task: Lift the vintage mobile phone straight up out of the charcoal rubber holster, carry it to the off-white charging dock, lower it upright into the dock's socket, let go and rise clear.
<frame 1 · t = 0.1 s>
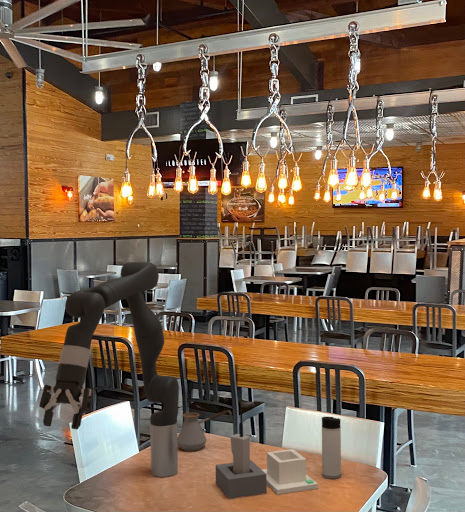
hand: (60, 427, 159), 31 cm above the table, tool tilted 20°, fingers open, 8 cm apart
vintage mobile phone: (240, 488, 198), resting in holster
holster: (240, 488, 198), on the table
travel mug: (331, 476, 207), on the table
charging dock: (286, 481, 203), on the table
coffee pot: (204, 448, 237), on the table
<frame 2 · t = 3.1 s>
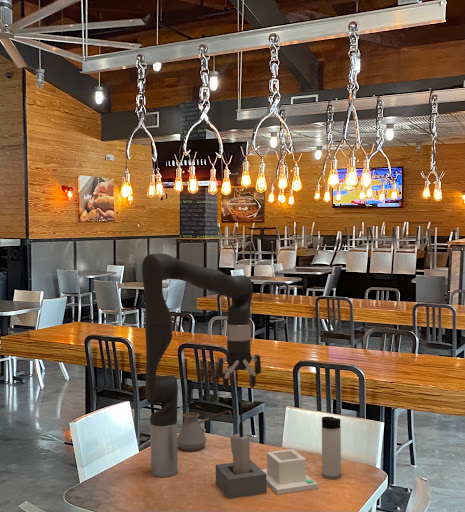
hand: (239, 388, 197), 32 cm above the table, tool pointing down, fingers open, 8 cm apart
nothing on the table moved.
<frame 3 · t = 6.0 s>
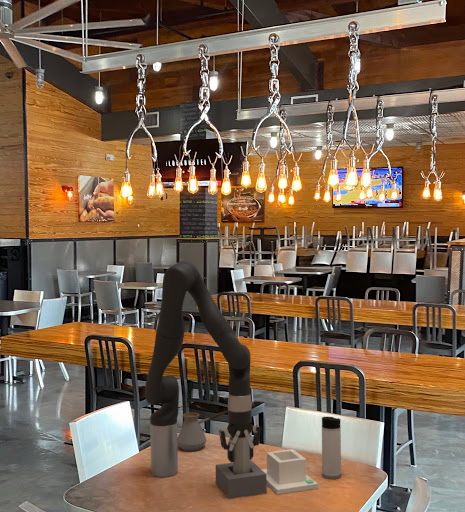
hand: (240, 460, 198), 9 cm above the table, tool pointing down, fingers closed on vintage mobile phone, 5 cm apart
vintage mobile phone: (240, 488, 198), resting in holster, touching gripper
everything else where it was.
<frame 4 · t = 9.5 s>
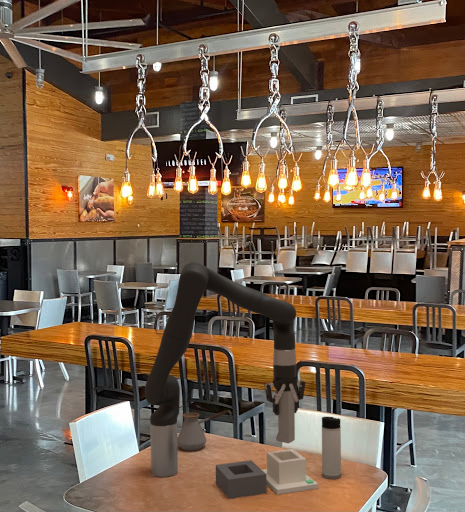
hand: (285, 413, 202), 23 cm above the table, tool pointing down, fingers closed on vintage mobile phone, 5 cm apart
vintage mobile phone: (285, 441, 202), point 13 cm above the table, touching gripper
everything else where it was.
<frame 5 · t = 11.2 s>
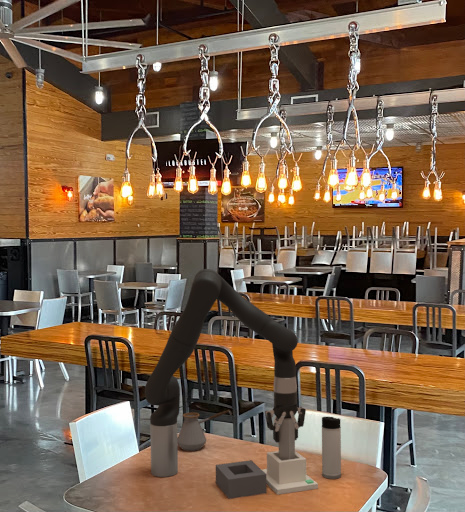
hand: (285, 440, 203), 13 cm above the table, tool pointing down, fingers closed on vintage mobile phone, 5 cm apart
vintage mobile phone: (285, 468, 203), point 4 cm above the table, touching gripper
everything else where it was.
when the fingers open (11 cm above the table, at t = 12.7 s): vintage mobile phone stays where it is, resting on charging dock.
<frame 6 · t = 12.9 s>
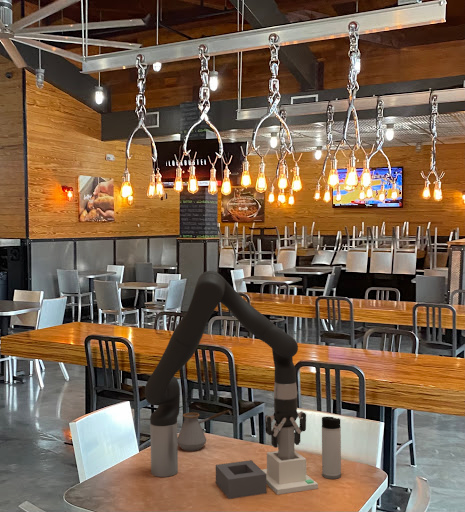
hand: (285, 445, 203), 12 cm above the table, tool pointing down, fingers open, 7 cm apart
vintage mobile phone: (285, 477, 203), point 1 cm above the table, touching charging dock
everything else where it was.
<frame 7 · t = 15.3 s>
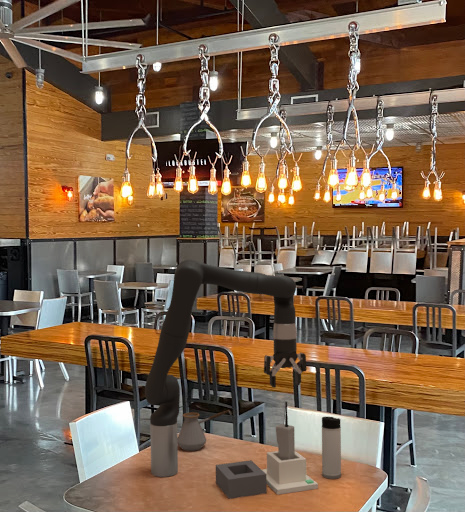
hand: (285, 385, 202), 32 cm above the table, tool pointing down, fingers open, 8 cm apart
nothing on the table moved.
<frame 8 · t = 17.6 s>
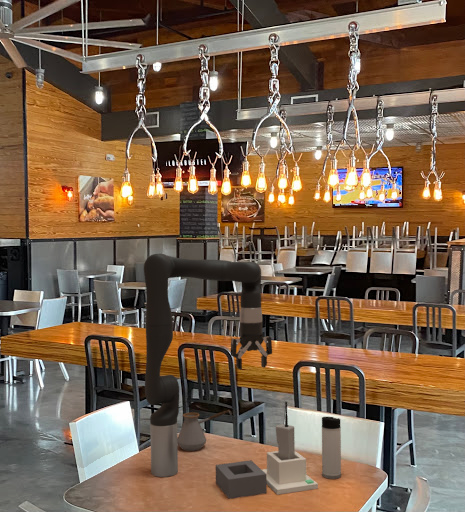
hand: (251, 368, 209), 36 cm above the table, tool pointing down, fingers open, 8 cm apart
nothing on the table moved.
at the end: vintage mobile phone 0.3 cm off-centre on the charging dock, point 1.3 cm above the charging dock's base; vintage mobile phone tilted 0°; the gripper is holding nothing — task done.
